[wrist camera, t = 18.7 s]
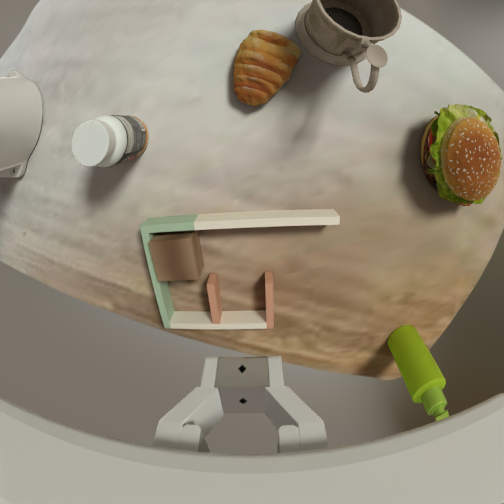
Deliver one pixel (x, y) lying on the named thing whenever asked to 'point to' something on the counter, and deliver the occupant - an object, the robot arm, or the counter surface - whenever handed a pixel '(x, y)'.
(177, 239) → the block
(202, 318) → the box
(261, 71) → the pastry
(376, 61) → the mug
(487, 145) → the food
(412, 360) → the soap dispenser
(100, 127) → the pill bottle
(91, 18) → the counter surface
